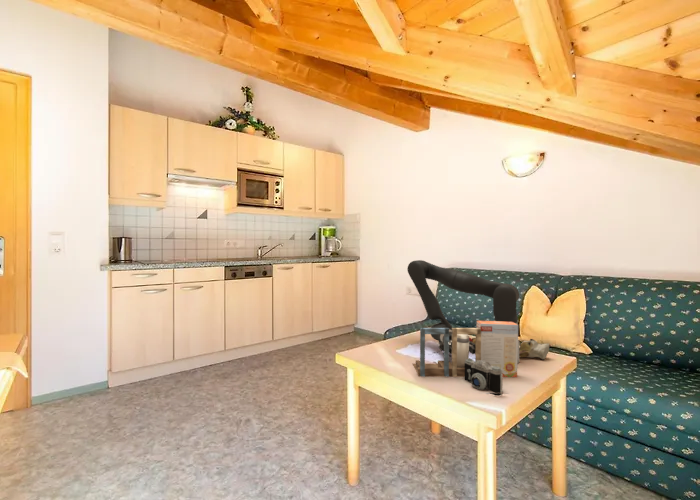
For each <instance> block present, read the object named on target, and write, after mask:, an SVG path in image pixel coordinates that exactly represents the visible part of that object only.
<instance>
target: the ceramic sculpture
mask: <svg viewBox="0 0 700 500" xmlns="http://www.w3.org/2000/svg"><path fill="white" fill-rule="evenodd" d="M549 350H550V343H542V344H541V343H539V342H538V341H537V340H535V339H533V338H530V339H529V340H523V341H522V342H521V343H519V358H529V359H530V358H531V359H532V358H539V359H541V360H545V359H546V358H547V356H548V354H549V352H550V351H549Z"/></svg>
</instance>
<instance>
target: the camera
mask: <svg viewBox="0 0 700 500" xmlns="http://www.w3.org/2000/svg"><path fill="white" fill-rule="evenodd" d="M463 378H464V380H465V381H466V382H469V383H471V385H472V387H473V388H474V389H477V390H481V391H483V390H488V391H490V392H489V394H491V395H493V396H495V397H500V396H502V395H503V380H504V379H503V378H504V377H503V374H502V369H501V368H500V367H497V366H491V364H490V363H489V362H486V361H483V360H476V362H475V360H474V359H472V358H470V357H469V359H466V360H465V377H463Z"/></svg>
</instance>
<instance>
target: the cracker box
mask: <svg viewBox="0 0 700 500" xmlns="http://www.w3.org/2000/svg"><path fill="white" fill-rule="evenodd" d="M476 328H480V329H481V360H483V361H486V362H489V363H490V364H491V366H497V367H500V368H501V369H502V374H503V378H518V363H517V361H518V340H519V324H518V325H517V324H515V323H514V322H503V321H494V320H476Z"/></svg>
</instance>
